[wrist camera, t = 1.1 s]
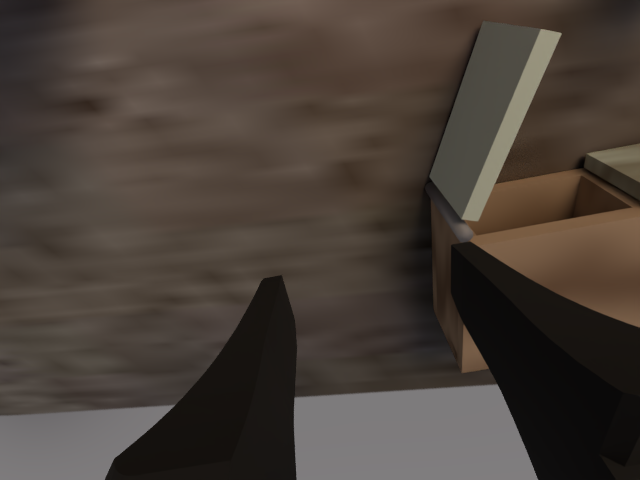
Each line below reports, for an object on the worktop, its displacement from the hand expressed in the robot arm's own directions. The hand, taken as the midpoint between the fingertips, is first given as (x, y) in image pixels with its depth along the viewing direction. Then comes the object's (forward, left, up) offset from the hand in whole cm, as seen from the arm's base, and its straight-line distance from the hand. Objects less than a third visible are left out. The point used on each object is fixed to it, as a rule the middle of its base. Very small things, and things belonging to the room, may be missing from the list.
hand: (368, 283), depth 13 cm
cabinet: (-7, -13, -10) cm, 17 cm away
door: (+2, -6, -10) cm, 12 cm away
